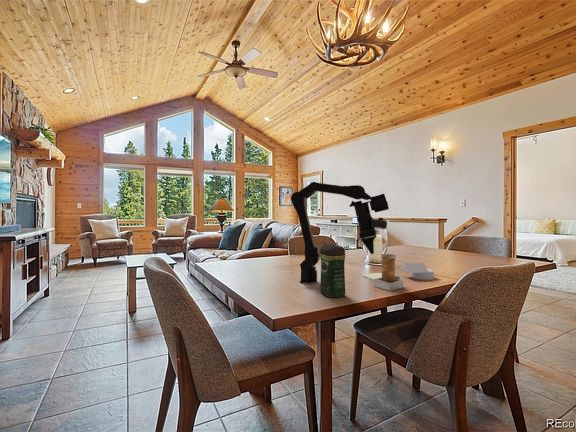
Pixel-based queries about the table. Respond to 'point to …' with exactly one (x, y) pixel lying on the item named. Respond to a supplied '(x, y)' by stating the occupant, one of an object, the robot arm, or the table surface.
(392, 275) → the brown cylinder
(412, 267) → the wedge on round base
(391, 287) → the white open box
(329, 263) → the coffee jar
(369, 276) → the mat
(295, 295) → the table surface
